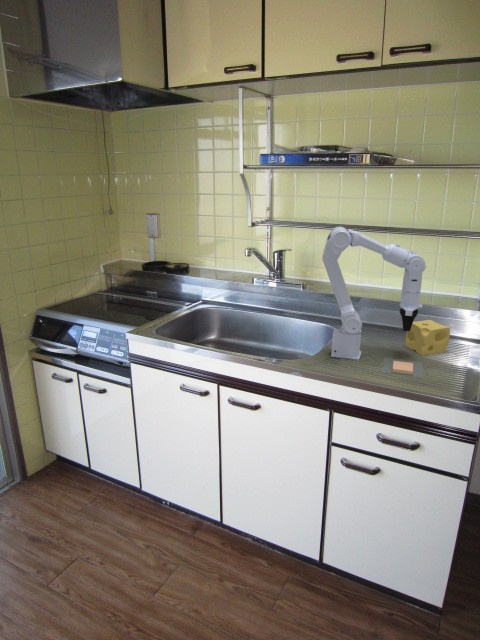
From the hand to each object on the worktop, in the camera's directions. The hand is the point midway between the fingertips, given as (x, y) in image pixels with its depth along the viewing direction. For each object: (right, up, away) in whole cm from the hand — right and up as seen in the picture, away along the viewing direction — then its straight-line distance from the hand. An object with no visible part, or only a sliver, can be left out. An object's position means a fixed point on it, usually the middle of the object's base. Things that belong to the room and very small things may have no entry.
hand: (406, 330), depth 154 cm
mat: (-3, -12, -6) cm, 14 cm away
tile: (-3, -11, -5) cm, 12 cm away
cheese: (+10, -8, +10) cm, 16 cm away
